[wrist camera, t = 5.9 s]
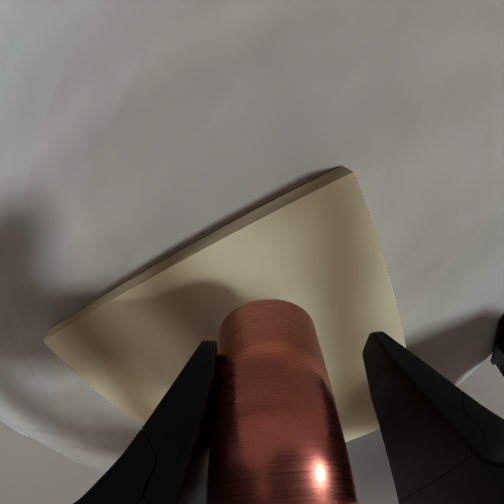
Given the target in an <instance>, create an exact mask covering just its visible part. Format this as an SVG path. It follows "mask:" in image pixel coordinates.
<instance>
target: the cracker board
mask: <svg viewBox="0 0 504 504" xmlns="http://www.w3.org/2000/svg"><path fill="white" fill-rule="evenodd" d="M264 299H277V300H284V301H288V302H291V303H293V304H296V305H298V306H299V307H301V308H302V309H304V310H305V311H306V312H307V313H308V314H309V315H310V317H311V318H312V320H313V323H314V326H315V330H316V333H317V336H318V340H319V344H320V347H321V351H322V354H323V358H324V361H325V365H326V369H327V372H328V376H329V380H330V384H331V387H332V391H333V395H334V399H335V403H336V407H337V411H338V415H339V419H340V423H341V427H342V431H343V435H344V439H345V442H347V441H350V440H352V439H355V438H358V437H360V436H363V435H365V434H368V433H370V432H373V431H375V430H378V429H380V426H379V423H378V420H377V416H376V413H375V410H374V406H373V403H372V400H371V396H370V391H369V386H368V381H367V376H366V371H365V366H364V361H363V356H362V352H363V349H364V346H365V344H366V341H367V338H368V336H369V334H370V333H371V332H377V331H383V332H385V333H386V334H387V335H389V336H390V337H391V338H393V339H394V340H395V341H397V342H398V343H399V344H401V345H402V346H404V347H405V348H406V344H405V339H404V334H403V329H402V325H401V320H400V316H399V311H398V307H397V303H396V299H395V295H394V291H393V287H392V284H391V280H390V276H389V273H388V269H387V266H386V262H385V259H384V256H383V253H382V249H381V246H380V243H379V240H378V237H377V234H376V231H375V228H374V225H373V222H372V219H371V217H370V214H369V211H368V208H367V206H366V203H365V200H364V198H363V195H362V192H361V190H360V187H359V185H358V182H357V180H356V177H355V175H354V172H353V171H351V170H349V169H347V168H345V167H344V166H341V167H338V168H336V169H334V170H332V171H330V172H328V173H326V174H324V175H322V176H320V177H318V178H316V179H314V180H312V181H310V182H308V183H306V184H304V185H302V186H300V187H298V188H296V189H294V190H292V191H290V192H288V193H286V194H284V195H283V196H281V197H279V198H277V199H275V200H273V201H271V202H269V203H267V204H265V205H263V206H261V207H259V208H258V209H256V210H254V211H252V212H250V213H248V214H246V215H244V216H242V217H241V218H239V219H237V220H235V221H233V222H231V223H229V224H228V225H226V226H224V227H222V228H220V229H218V230H216V231H215V232H213V233H211V234H209V235H207V236H206V237H204V238H202V239H200V240H198V241H197V242H195V243H193V244H191V245H189V246H188V247H186V248H184V249H182V250H180V251H179V252H177V253H175V254H173V255H172V256H170V257H168V258H166V259H165V260H163V261H161V262H159V263H158V264H156V265H154V266H152V267H151V268H149V269H147V270H146V271H144V272H142V273H140V274H139V275H137V276H135V277H134V278H132V279H130V280H128V281H127V282H125V283H123V284H122V285H120V286H118V287H117V288H115V289H113V290H112V291H110V292H108V293H107V294H105V295H103V296H102V297H100V298H99V299H97V300H95V301H94V302H92V303H90V304H89V305H87V306H86V307H84V308H82V309H81V310H79V311H77V312H76V313H74V314H73V315H71V316H70V317H68V318H66V319H65V320H63V321H62V322H60V323H58V324H57V325H55V326H54V327H52V328H51V329H50V331H49V332H48V333H47V335H46V336H45V338H44V339H43V342H44V343H45V344H46V345H47V346H48V347H49V348H50V349H51V350H52V351H53V352H54V353H55V354H56V355H57V356H58V357H59V358H60V359H61V360H62V361H63V362H64V363H65V364H66V365H67V366H68V367H69V368H70V369H72V370H73V371H74V372H75V373H76V374H77V375H78V376H79V377H80V378H82V379H83V380H84V381H85V382H86V383H87V384H88V385H90V386H91V387H92V388H93V389H94V390H96V391H97V392H98V393H99V394H101V395H102V396H103V397H104V398H106V399H107V400H108V401H109V402H111V403H112V404H113V405H115V406H116V407H117V408H119V409H120V410H121V411H123V412H124V413H126V414H127V415H128V416H130V417H131V418H133V419H134V420H136V421H137V422H138V423H140V424H141V425H143V426H144V424H145V423H146V421H147V420H148V418H149V417H150V415H151V414H152V413H153V411H154V410H155V408H156V407H157V405H158V404H159V402H160V401H161V400H162V398H163V397H164V395H165V394H166V392H167V391H168V389H169V388H170V387H171V385H172V384H173V382H174V381H175V379H176V378H177V376H178V375H179V373H180V372H181V371H182V369H183V368H184V366H185V365H186V363H187V362H188V360H189V359H190V357H191V356H192V354H193V353H194V352H195V350H196V349H197V347H198V346H199V344H200V343H201V342H202V341H203V340H213V341H216V342H217V349H218V339H219V331H220V327H221V325H222V323H223V321H224V319H225V318H226V317H227V316H228V315H229V314H230V313H231V312H232V311H233V310H235V309H236V308H238V307H240V306H242V305H244V304H247V303H249V302H253V301H257V300H264Z"/></svg>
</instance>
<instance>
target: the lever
mask: <svg viewBox="0 0 504 504" xmlns="http://www.w3.org/2000/svg"><path fill="white" fill-rule="evenodd" d="M206 504H358V499H357V493H356V489H355V484H354V479H353V475H352V470H351V465H350V462H349V457H348V452H347V448H346V444H345V439H344V435H343V431H342V427H341V423H340V419H339V415H338V411H337V407H336V403H335V399H334V395H333V391H332V387H331V384H330V380H329V376H328V372H327V369H326V365H325V361H324V358H323V354H322V351H321V347H320V344H319V340H318V336H317V333H316V330H315V326H314V323H313V320H312V318H311V317H310V315H309V314H308V313H307V312H306V311H305V310H304V309H302V308H301V307H299V306H298V305H296V304H293V303H291V302H288V301H284V300H277V299H264V300H257V301H253V302H249V303H247V304H244V305H242V306H240V307H238V308H236V309H235V310H233V311H232V312H231V313H230V314H229V315H228V316H227V317H226V318H225V319H224V321H223V323H222V325H221V327H220V331H219V339H218V364H217V383H216V395H215V402H214V409H213V415H212V424H211V432H210V446H209V461H208V476H207V494H206Z"/></svg>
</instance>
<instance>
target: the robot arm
mask: <svg viewBox="0 0 504 504" xmlns="http://www.w3.org/2000/svg"><path fill="white" fill-rule="evenodd" d="M362 356H363V361H364V366H365V371H366V376H367V381H368V386H369V391H370V396H371V400H372V403H373V406H374V410H375V413H376V416H377V420H378V423H379V426H380V430H381V433H382V437H383V440H384V444H385V448H386V452H387V455H388V459H389V463H390V467H391V471H392V475H393V479H394V484H395V488H396V492H397V497H398V500H399V501H398V502H399V504H504V419H502V418H501V417H499V416H498V415H496V414H494V413H493V412H491V411H490V410H488V409H487V408H485V407H484V406H482V405H480V404H479V403H478V402H477V401H475V400H474V399H472V398H471V397H470V396H468V395H467V394H466V393H465V392H463V391H462V392H461V390H460V389H459V388H458V387H457V386H455V385H454V384H453V383H451V382H450V381H449V380H447V379H446V378H445V377H443V376H442V375H441V374H439V373H438V372H437V371H435V370H434V369H433V368H432V367H430V366H429V365H428V364H426V363H425V362H424V361H422V360H421V359H420V358H418V357H417V356H416V355H414V354H413V353H412V352H410V351H409V350H408V349H406V348H405V347H404V346H402V345H401V344H399V343H398V342H397V341H395V340H394V339H393V338H391V337H390V336H389V335H387V334H386V333H385V332H383V331H377V332H371V333H370V334H369V336H368V338H367V341H366V344H365V346H364V349H363V352H362ZM491 363H492V364H493V365H494V364H496V366H497V367H498V368H499V370H500V372H501V373H502V375H503V376H504V318H503V319H502V320H501V321H500V323H499V325H498V331H497V336H496V340H495V345H494V349H493V353H492V357H491ZM217 364H218V349H217V342H216V341H213V340H203V341H202V342H201V343H200V344H199V346H198V347H197V349H196V350H195V352H194V353H193V354H192V356H191V357H190V359H189V360H188V362H187V363H186V365H185V366H184V368H183V369H182V371H181V372H180V373H179V375H178V376H177V378H176V379H175V381H174V382H173V384H172V385H171V387H170V388H169V389H168V391H167V392H166V394H165V395H164V397H163V398H162V400H161V401H160V402H159V404H158V405H157V407H156V408H155V410H154V411H153V413H152V414H151V415H150V417H149V418H148V420H147V421H146V423H145V424H144V426H143V427H142V429H143V430H140V431H139V432H138V434H137V435H136V437H135V438H134V440H133V441H132V442H131V444H130V445H129V446H128V448H127V449H126V450H125V452H124V453H123V454H122V455H121V456H120V458H119V459H118V460H117V461H116V462H115V463H114V464H113V466H112V467H111V468H110V469H109V470H108V471H107V472H106V473H105V474H104V475H103V476H102V477H101V478H100V479H99V480H98V481H97V482H96V483H95V484H94V485H93V486H92V487H91V488H90V490H88V492H86V494H85V495H83V497H81V498H80V499H79V500H78V501H76V502H75V503H73V504H206V494H207V476H208V461H209V446H210V432H211V424H212V415H213V409H214V402H215V395H216V383H217Z"/></svg>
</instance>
